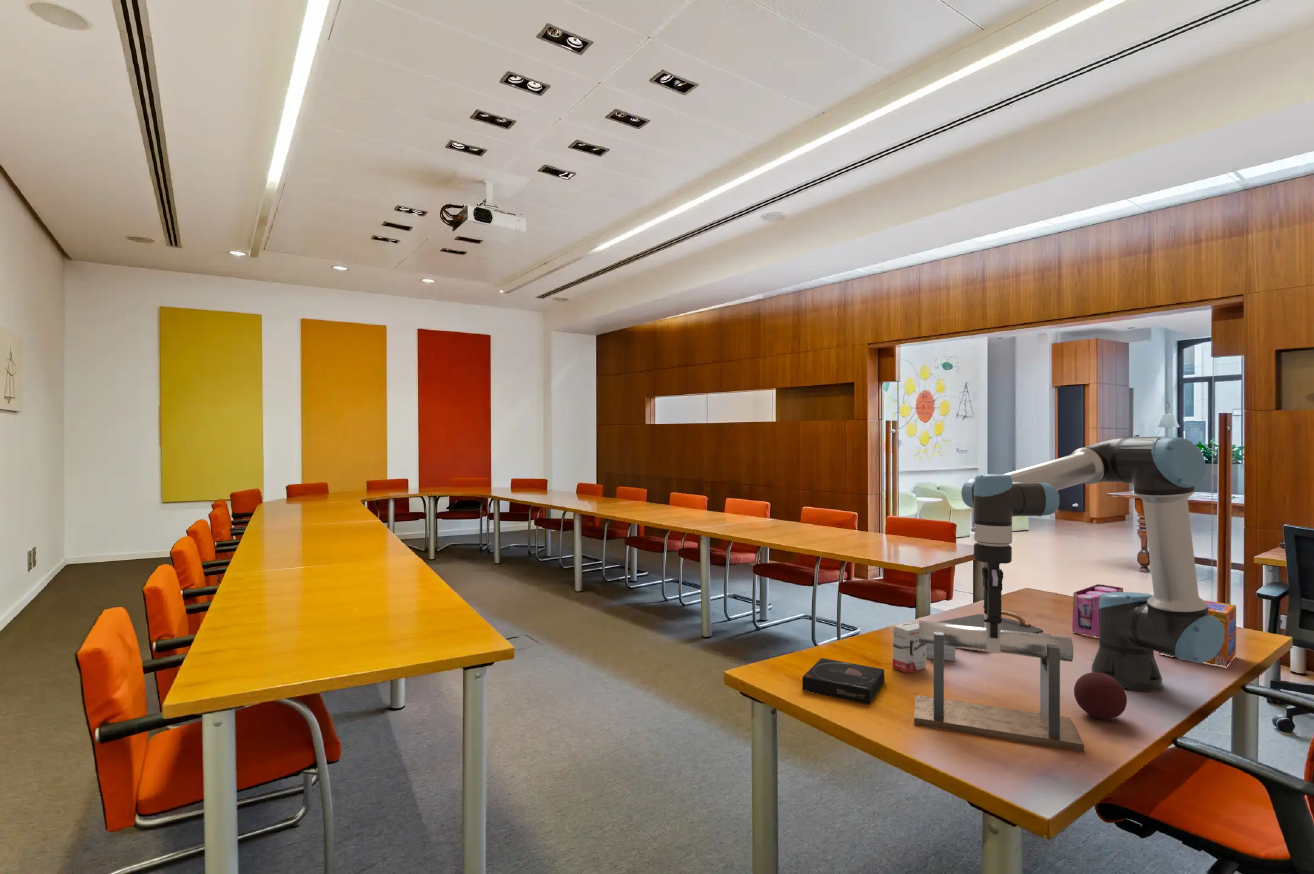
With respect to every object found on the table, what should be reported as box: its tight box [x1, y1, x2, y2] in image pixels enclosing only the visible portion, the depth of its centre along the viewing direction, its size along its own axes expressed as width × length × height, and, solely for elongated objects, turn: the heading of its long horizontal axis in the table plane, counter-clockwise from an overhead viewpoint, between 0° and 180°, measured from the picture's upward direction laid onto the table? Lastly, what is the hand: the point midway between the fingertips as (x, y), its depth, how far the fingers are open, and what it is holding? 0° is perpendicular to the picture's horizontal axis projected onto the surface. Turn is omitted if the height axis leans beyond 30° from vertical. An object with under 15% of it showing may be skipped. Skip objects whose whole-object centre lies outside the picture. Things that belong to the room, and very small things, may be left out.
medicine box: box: [925, 644, 956, 662], centre depth 188 cm, size 8×4×9 cm, turn 71°
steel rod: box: [918, 620, 1074, 663], centre depth 143 cm, size 30×5×5 cm, turn 67°
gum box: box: [1071, 584, 1124, 637], centre depth 216 cm, size 24×8×14 cm, turn 127°
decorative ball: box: [1073, 672, 1128, 720], centre depth 147 cm, size 10×10×10 cm
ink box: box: [892, 621, 926, 674], centre depth 179 cm, size 8×5×12 cm, turn 123°
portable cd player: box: [801, 657, 885, 705], centre depth 165 cm, size 16×17×4 cm
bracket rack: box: [913, 621, 1085, 753], centre depth 143 cm, size 32×14×20 cm, turn 67°
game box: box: [1158, 599, 1237, 667], centre depth 190 cm, size 16×16×16 cm
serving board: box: [939, 610, 1044, 652], centre depth 210 cm, size 39×23×6 cm, turn 118°
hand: (992, 647), depth 143 cm, fingers closed on steel rod, 5 cm apart
